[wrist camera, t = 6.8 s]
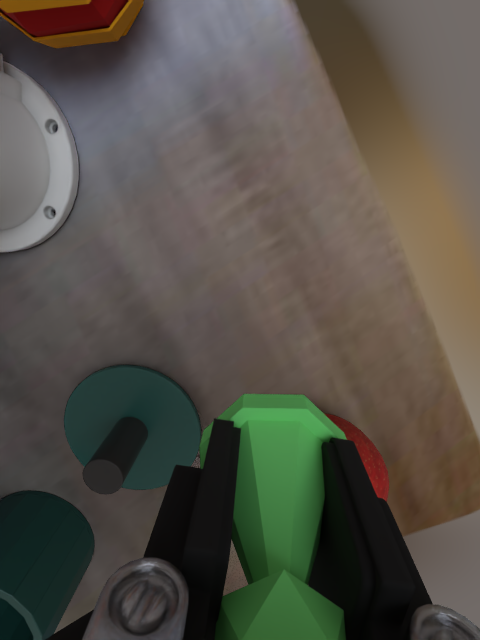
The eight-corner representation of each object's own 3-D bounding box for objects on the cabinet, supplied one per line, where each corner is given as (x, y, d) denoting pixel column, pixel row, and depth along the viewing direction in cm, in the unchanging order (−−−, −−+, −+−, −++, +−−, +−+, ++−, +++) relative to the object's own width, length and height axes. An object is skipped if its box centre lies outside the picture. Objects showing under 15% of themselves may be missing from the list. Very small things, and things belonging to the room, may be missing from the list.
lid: (73, 350, 29) (20, 386, 23) (211, 375, 29) (196, 418, 23) (68, 468, 32) (20, 528, 26) (193, 491, 32) (175, 558, 26)
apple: (386, 439, 29) (445, 545, 20) (310, 494, 31) (331, 615, 22) (321, 372, 28) (350, 450, 19) (246, 432, 30) (238, 531, 20)
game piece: (368, 492, 11) (496, 818, 5) (234, 532, 11) (207, 860, 6) (317, 367, 10) (403, 588, 4) (174, 419, 10) (65, 675, 5)
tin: (-13, 481, 33) (-102, 565, 25) (97, 502, 33) (43, 594, 25) (-10, 567, 36) (-90, 668, 28) (91, 587, 36) (40, 694, 28)
